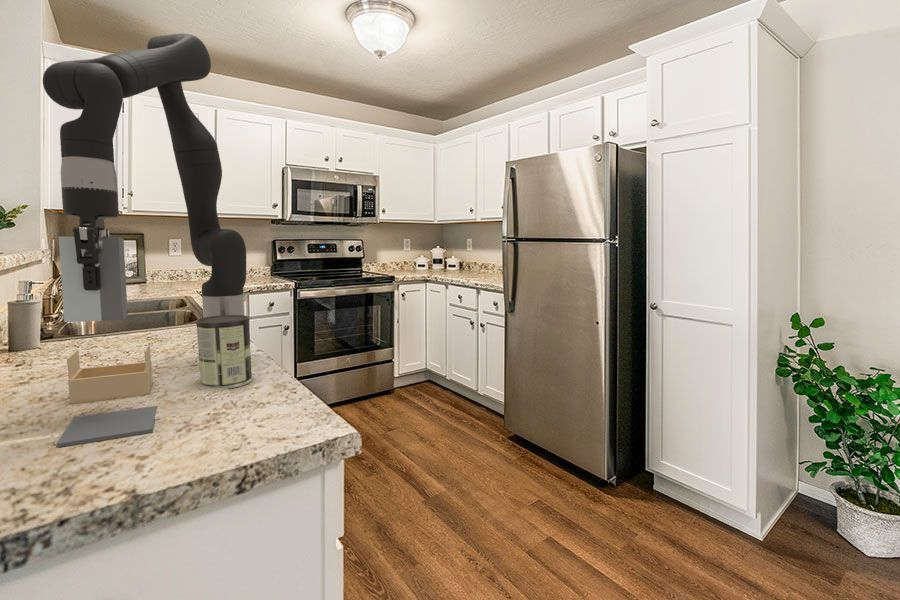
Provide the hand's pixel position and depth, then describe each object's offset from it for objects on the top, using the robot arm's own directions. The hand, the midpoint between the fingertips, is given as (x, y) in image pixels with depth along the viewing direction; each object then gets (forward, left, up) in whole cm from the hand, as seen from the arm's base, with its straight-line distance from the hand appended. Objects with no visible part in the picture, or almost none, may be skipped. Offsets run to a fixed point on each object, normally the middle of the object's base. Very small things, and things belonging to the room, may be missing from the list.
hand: (96, 288), depth 80 cm
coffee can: (-20, -10, -22) cm, 32 cm away
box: (0, 0, -5) cm, 5 cm away
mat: (-2, +8, -22) cm, 24 cm away
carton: (0, -11, -22) cm, 25 cm away
